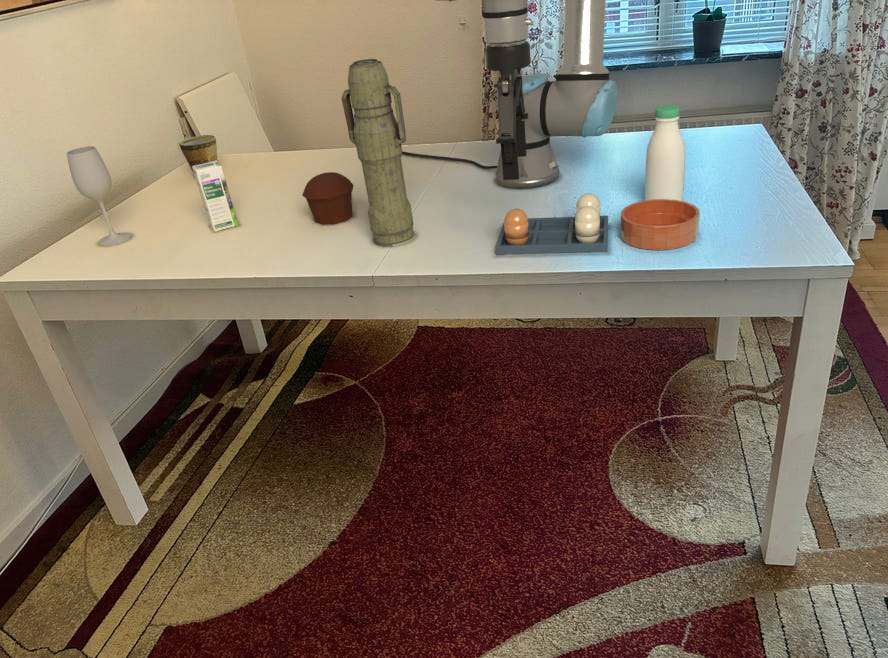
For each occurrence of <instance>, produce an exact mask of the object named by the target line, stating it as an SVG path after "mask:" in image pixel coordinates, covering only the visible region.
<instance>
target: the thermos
mask: <svg viewBox="0 0 888 658" xmlns="http://www.w3.org/2000/svg"><path fill="white" fill-rule="evenodd" d="M347 84H348V85H347V86H348V88H347V89H345V90H344V91H343V92H342V95H341V103H342V108H343V112H344V117H345V121H346V126H347V127H346V128H347V131H348V138H349V141H350V142H351V143H352V144H353V145H354V146H355V148H356V153H357V154H356V155H357V158H358V160H359V162H360V163H361V167H362V173H363V179H364V184H365V189H366V195H367V200H368V201H367V202H368V210H367V217H368V221H369V227H370V231H371V232H372V237H373V238H372V239H373V243H374V244H375V245H377V246H379V247H380V246H381V247H393V245H399V244H403V243H406V242H408V241H410V240H411V239H413V238H414V237H415V231H414V217H413V211H412V205H411V202H410V201H409V199H408V196H407V190H406V182H405V176H404V175H405V174H404V169H403V162H402V155H403V154H402V151H403V147H402V144H404V143H406V142H407V133H406V126H405V118H404V110H403V104H402V97H401V92H400V91H399V90H398V88H397V87H396V86H393V85H392V84H390V81H389V75H388V73H387V70H386V68H385V66H384V64H383V62H382V61H381V60H378V59H377V58H367V59H360V60H355V61H353V62H352V64H350V65H349V67H348V74H347ZM392 96H393V99H394V107H395V114H396V116H395V114H394V109H393V108H392V102H393V101H392ZM353 112H354V113H353Z"/></svg>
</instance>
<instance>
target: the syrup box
mask: <svg viewBox="0 0 888 658" xmlns="http://www.w3.org/2000/svg"><path fill="white" fill-rule="evenodd" d="M217 160H218V159H217ZM217 160H216V161H213V162H208V163H204V164H200V165H195V166H192V169H193V172H194V174H193V176H194V175H195V176H194V178H195V181H196V184H197V187H198V191H199V194H200V197H201V200H202V203H203V204H202V205H203V207H204V210H205V214H206V216H207V220H208V223H209V226H210V228H211V229H212V230H213V231H214V232H220V231H222V230H226V229H227V230H228V229H231V228H234V227H238V226H239V221H238V218H237V214H236V211H235V208H234V204H233V201H232V197H231V194H230V191H229V187H228V184H227V180H226V177H225V174H224V169H223V166H222V165H221V163H220V162H219V161H217ZM193 172H192V173H193Z"/></svg>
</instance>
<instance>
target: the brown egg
mask: <svg viewBox="0 0 888 658" xmlns="http://www.w3.org/2000/svg"><path fill="white" fill-rule="evenodd" d="M528 218H529V217H528V215H527V214H526V212H525V211H524V210H522V209H520V208H512V209H510V210H508V211H507V212H506V213H505V215H504V218H503V223H504V228H505V238H506V241H507V242H508V243H509V244H510V245H524V244H525V243H526V242H527V240H528V238H529V227H528Z"/></svg>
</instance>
